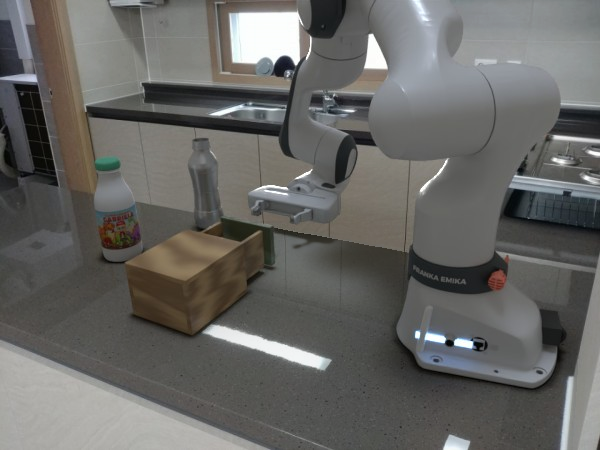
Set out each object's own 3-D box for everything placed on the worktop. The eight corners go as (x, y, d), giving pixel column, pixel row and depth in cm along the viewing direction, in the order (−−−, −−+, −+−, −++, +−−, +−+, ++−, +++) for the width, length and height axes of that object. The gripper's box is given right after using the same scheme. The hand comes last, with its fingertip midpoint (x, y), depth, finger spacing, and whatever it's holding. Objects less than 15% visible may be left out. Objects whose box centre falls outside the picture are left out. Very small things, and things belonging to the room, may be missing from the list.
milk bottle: (97, 254, 109) (78, 159, 102) (133, 242, 114) (117, 151, 106) (113, 266, 104) (95, 168, 96) (150, 254, 109) (135, 158, 101)
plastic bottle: (219, 233, 117) (210, 144, 109) (190, 231, 119) (179, 143, 111) (228, 221, 123) (221, 136, 115) (201, 220, 124) (191, 135, 116)
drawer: (240, 242, 111) (237, 207, 107) (287, 253, 105) (286, 217, 102) (181, 280, 96) (176, 241, 93) (232, 296, 91) (228, 255, 88)
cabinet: (192, 276, 100) (186, 229, 96) (247, 292, 94) (243, 242, 90) (133, 314, 88) (124, 262, 84) (192, 335, 82) (185, 280, 78)
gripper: (266, 175, 124) (230, 194, 113) (347, 188, 114) (316, 210, 103) (268, 200, 126) (232, 221, 115) (346, 215, 117) (316, 240, 106)
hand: (272, 216), depth 109 cm, fingers open, 8 cm apart
